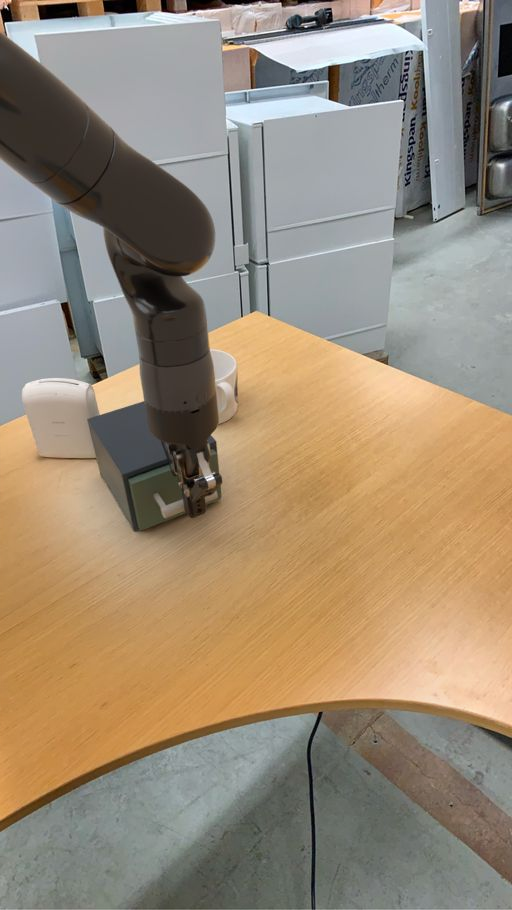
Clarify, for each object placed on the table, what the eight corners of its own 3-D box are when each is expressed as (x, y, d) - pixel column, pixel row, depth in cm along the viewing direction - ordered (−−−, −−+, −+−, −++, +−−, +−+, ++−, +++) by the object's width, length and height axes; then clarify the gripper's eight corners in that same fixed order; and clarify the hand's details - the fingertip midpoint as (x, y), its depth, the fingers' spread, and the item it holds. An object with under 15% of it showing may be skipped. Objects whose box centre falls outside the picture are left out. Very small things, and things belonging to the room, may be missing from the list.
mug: (163, 405, 106) (156, 362, 101) (218, 384, 111) (215, 342, 106) (204, 445, 98) (199, 400, 93) (262, 421, 102) (261, 377, 97)
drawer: (235, 518, 84) (232, 471, 79) (153, 552, 80) (144, 504, 75) (182, 450, 95) (176, 405, 91) (108, 476, 91) (97, 431, 86)
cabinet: (221, 497, 88) (216, 441, 82) (133, 532, 84) (121, 474, 78) (180, 445, 98) (173, 391, 92) (100, 473, 93) (86, 418, 87)
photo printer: (35, 459, 96) (13, 388, 89) (45, 441, 100) (24, 371, 92) (103, 461, 95) (86, 389, 88) (111, 443, 99) (95, 373, 91)
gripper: (123, 371, 71) (146, 493, 81) (170, 431, 61) (189, 559, 72) (186, 353, 74) (200, 473, 84) (241, 407, 64) (249, 534, 75)
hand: (195, 512), depth 78 cm, fingers closed
